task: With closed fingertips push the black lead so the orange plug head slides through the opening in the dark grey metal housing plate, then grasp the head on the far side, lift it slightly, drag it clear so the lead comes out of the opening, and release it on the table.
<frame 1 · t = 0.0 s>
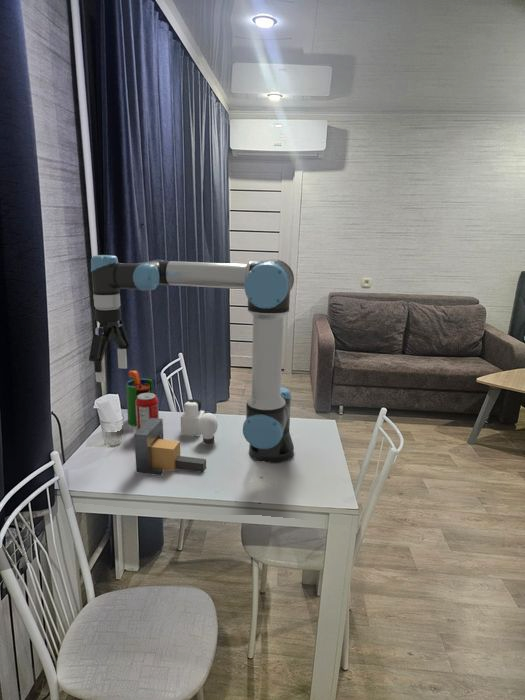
hand: (112, 374, 138), 28 cm above the table, fingers open, 13 cm apart
plug: (165, 465, 140), on the table
housing: (150, 463, 141), on the table
light bulb: (208, 442, 156), on the table
soda can: (148, 434, 161), on the table
medicine bottle: (193, 431, 164), on the table
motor: (140, 421, 172), on the table
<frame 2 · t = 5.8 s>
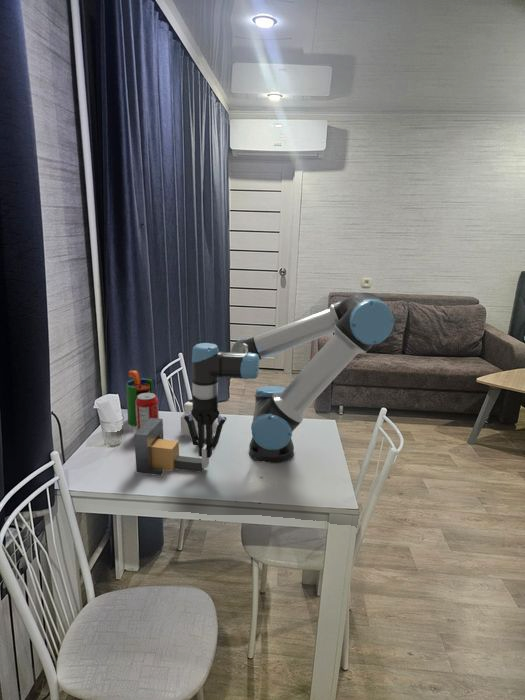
hand: (205, 465, 138), 2 cm above the table, fingers closed
plug: (164, 465, 140), on the table, touching gripper
everything else where it was.
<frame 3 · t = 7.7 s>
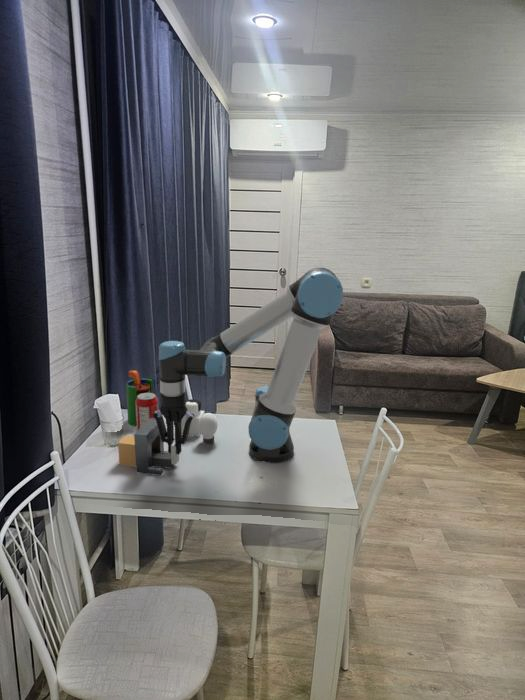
hand: (175, 462, 139), 1 cm above the table, fingers closed
plug: (135, 461, 142), on the table, touching gripper
everything else where it was.
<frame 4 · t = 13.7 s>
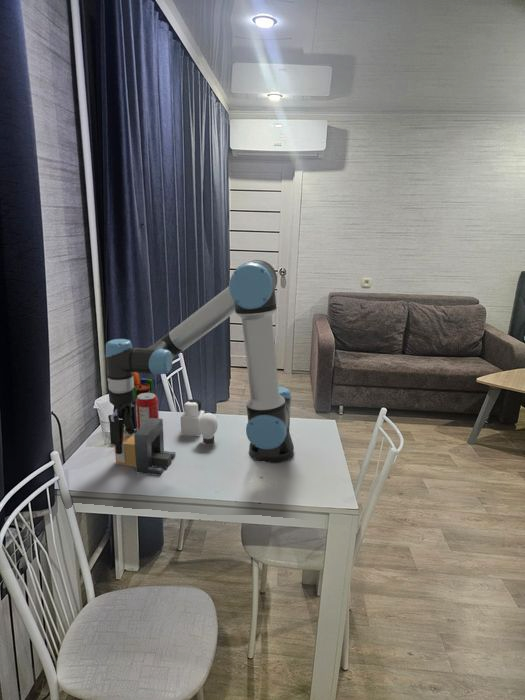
hand: (125, 456, 142), 1 cm above the table, fingers closed on plug, 5 cm apart
plug: (131, 460, 142), on the table, touching gripper
everything else where it was.
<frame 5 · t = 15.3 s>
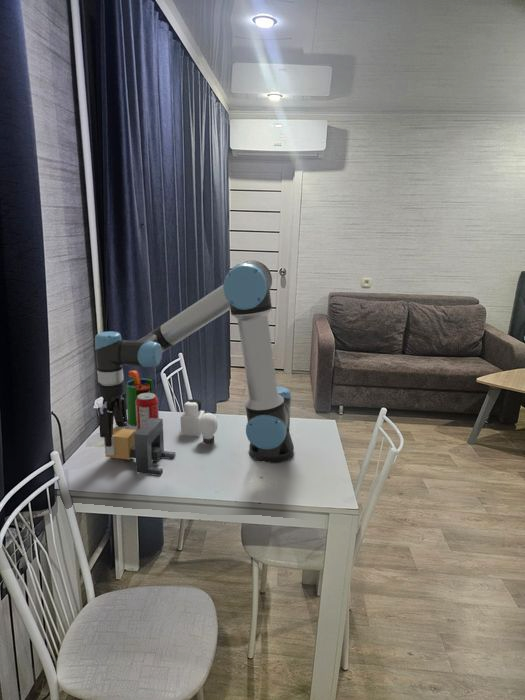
hand: (115, 449, 142), 3 cm above the table, fingers closed on plug, 5 cm apart
plug: (121, 453, 142), point 2 cm above the table, touching gripper
everything else where it was.
when the fingers open (3 cm above the table, at t = 17.0 s): plug drops 2 cm, on the table.
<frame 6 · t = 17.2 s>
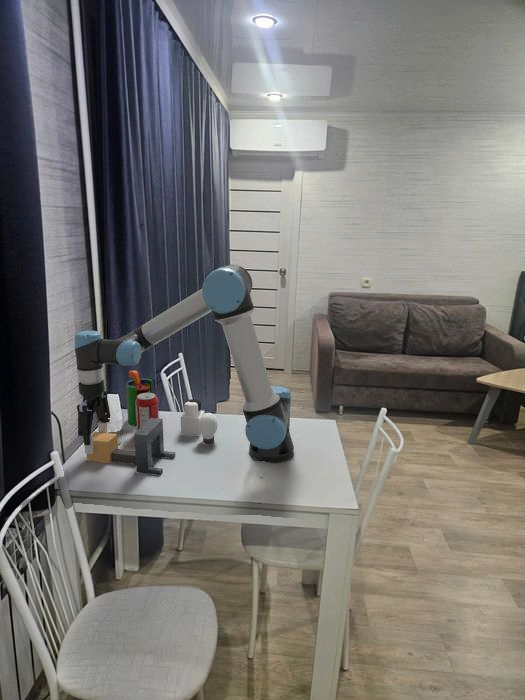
hand: (96, 446, 143), 4 cm above the table, fingers open, 8 cm apart
plug: (103, 457, 144), on the table
everything else where it was.
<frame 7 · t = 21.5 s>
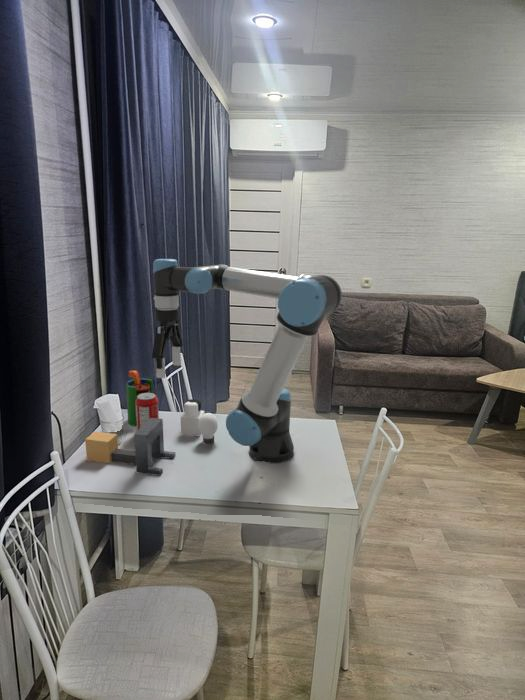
hand: (169, 371, 147), 27 cm above the table, fingers open, 13 cm apart
nothing on the table moved.
at the end: plug inside the target area (3.4 cm from its centre), on the table; plug touching table; the gripper is holding nothing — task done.
